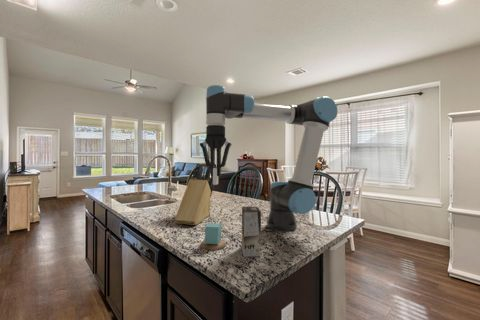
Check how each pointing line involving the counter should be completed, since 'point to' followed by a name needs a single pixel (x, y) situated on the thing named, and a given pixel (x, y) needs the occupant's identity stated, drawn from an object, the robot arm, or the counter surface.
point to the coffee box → (251, 231)
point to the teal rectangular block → (213, 233)
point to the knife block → (196, 198)
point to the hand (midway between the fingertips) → (215, 184)
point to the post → (213, 245)
